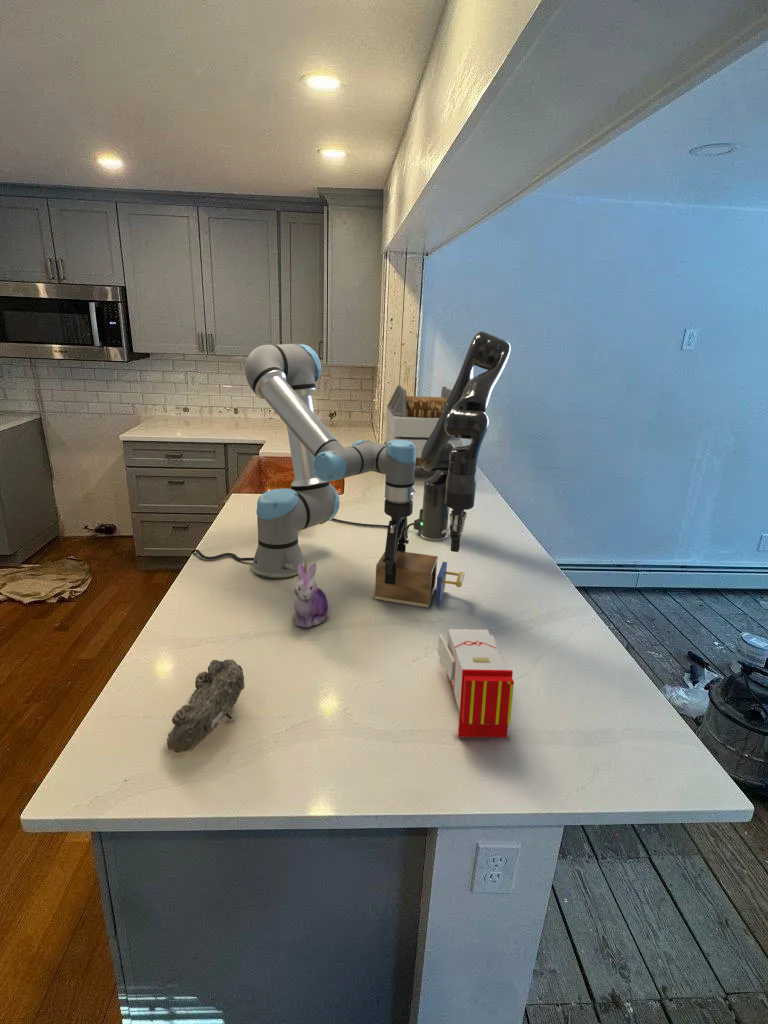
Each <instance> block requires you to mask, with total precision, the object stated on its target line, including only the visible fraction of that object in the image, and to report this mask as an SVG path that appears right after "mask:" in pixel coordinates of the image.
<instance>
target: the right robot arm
mask: <svg viewBox="0 0 768 1024" xmlns="http://www.w3.org/2000/svg"><path fill="white" fill-rule="evenodd" d="M510 354H511V344H510V342H508V341H507V340H505V339H502V338H500V337H498V336H495V335H493V334H490V333H488V332H486V331H481V330H480V331H478V332H477V333H475V334H474V336H473V338H472V340H471V343H470V344H469V347H468V349H467V352H466V354H465V357H464V359H463V362H462V365H461V368H460V370H459V372H458V376H457V378H456V379H455V380H456V381H455V382H454V385H453V386H452V388H451V393H450V395H449V397H448V399H447V401H446V403H445V405H444V408H443V410H442V413H441V415H440V418H439V420H438V422H437V424H436V426H435V428H434V430H433V432H432V433H431V435H430V437H429V438H428V440H427V442H426V443H425V445H424V447H423V449H422V452H421V458H420V461H421V466H420V467H422V469H423V470H424V471H427V472H434V474H433V475H431V476H429V477H428V478H427V479H425V480H424V482H423V493H422V496H423V497H422V506H421V508H420V509H419V516H418V518H416V519H415V520H413V522H411V523H409V524H407V531H409V529H410V527H411V526H413V530H416V531H417V535H418V536H420V538H421V539H424V540H426V541H432V542H440V541H444V540H446V539H447V538H448V532H449V538H450V540H451V541H450V551H451V552H453V553H459V552H460V548H461V538H462V536H463V534H462V533H463V532H464V528H465V523H466V519H467V514H468V513H467V512H468V511H467V510H471V509H473V508H474V506H475V499H476V488H477V468H478V460H479V459H478V458H479V455H480V451H481V447H482V444H483V441H484V439H485V437H486V434H487V432H488V429H489V425H490V421H489V417H488V415H487V413H486V411H487V408H488V405H489V401H490V399H491V395H492V392H493V390H494V389H495V387H496V385H497V382H498V381H499V379H500V377H501V375H502V373H503V370H504V369H505V367H506V365H507V362H508V359H509V357H510ZM474 367H477V368H480V369H483V370H485V371H484V372H482V373H480V374H477V375H475V376H474ZM453 437H454V438H460V439H462V440H463V439H464V440H471V441H470V443H469V444H468V445H462V447H455V448H454V446H453V445H452V444H451V443H447V442H448V441H449V440H451V439H452V438H453ZM450 509H451V511H450ZM330 521H335V522H339V523H342V524H349V525H354V526H361V527H362V526H364V527H376V528H387V526H388V524H372V523H361V522H353V521H347V520H342V519H338V518H335V517H334V518H333V519H331V520H330ZM448 525H449V528H448Z"/></svg>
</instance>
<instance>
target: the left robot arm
mask: <svg viewBox="0 0 768 1024" xmlns="http://www.w3.org/2000/svg"><path fill="white" fill-rule="evenodd" d="M321 363H322V362H321V360H320V356H318V353H317V352H316V351H315V350H314V349H312V347H311V346H309V345H307V344H302V343H284V344H283V343H282V344H262V345H259V346H257V347H256V348H254V349H253V350H252V351H250V353H249V354H248V356H247V359H246V361H245V364H244V366H245V367H244V374H245V378H246V381H247V384H248V385H249V387H250V389H251V391H252V392H253V393H254V394H255V396H256V397H257V398H259V399H261V400H264V401H266V402H267V404H268V405H269V406H270V408H272V410H273V411H274V412H275V413H276V414H277V416H278V417H279V418H280V420H282V422H283V423H284V424H285V425H286V429H287V437H288V442H289V443H288V444H289V449H290V455H291V463H292V468H293V476H294V479H293V481H292V482H291V484H290V488H285V487H284V488H283V487H282V488H273V489H270V490H267V491H265V492H263V493H262V494H261V495H260V496H259V497H258V498H257V501H256V511H255V513H256V519H257V521H256V523H257V548H256V550H255V554H254V556H253V557H239V556H237V554H236V553H232V552H224V553H220V554H216V555H214V556H206V555H205V554H203V553H202V552H201V550H199V549H197V548H195V549H193V550H191V552H190V554H195V553H196V554H197V555H198V556H199V557H201V559H203V560H208V561H213V560H217V559H220V558H224V557H232V558H234V559H235V560H236V561H239V562H252V571H253V573H254V574H255V575H257V576H260V577H262V578H266V579H274V580H275V579H276V580H279V579H287V578H293V577H294V576H298V566H299V564H303V566H304V567H305V558H304V556H303V553H302V550H301V547H300V544H299V532H300V531H302V530H306V529H309V528H311V527H315V526H318V525H323V524H325V523H327V522H330V521H332V520H331V519H333V518H334V519H335V517H336V515H337V514H338V513H339V509H340V502H341V501H340V496H339V492H338V490H336V488H335V486H333V485H332V484H330V482H334V481H341V480H343V479H346V478H349V477H353V476H357V475H362V474H365V473H369V472H374V473H379V474H382V475H385V484H384V498H385V499H384V504H383V505H384V508H383V511H384V514H385V515H386V516H389V517H390V518H391V519H390V520H389V521H388V524H387V527H386V528H387V529H386V530H387V532H386V540H385V548H384V552H385V556H384V559H383V562H384V563H386V566H385V583H386V584H392V585H395V577H396V554H397V551H403V552H406V548H407V545H409V543H410V539H408V538H409V536H408V535H409V533H408V531H409V530H407V526H408V517H410V516H412V515H413V510H414V508H413V507H414V501H413V499H414V493H416V491H417V490H416V488H414V487H415V472H416V466H415V464H416V446H415V444H414V443H413V442H411V441H407V440H392V441H389V442H388V444H387V446H386V445H384V444H382V443H378V442H374V441H372V440H369V439H368V440H365V439H359V440H358V439H357V440H356V441H355V442H354V443H352V444H351V446H346V447H344V446H343V444H341V443H340V441H339V440H338V439H337V438H336V437H335V435H333V434H332V432H331V431H330V430H329V429H328V428H327V426H326V425H325V424H324V423H323V422H322V421H321V419H319V417H318V416H317V415H316V414H315V410H314V403H313V394H314V392H316V390H317V388H316V383H317V382H318V381H319V380H320V378H321V375H322V364H321ZM195 551H196V552H195ZM194 552H195V553H194Z"/></svg>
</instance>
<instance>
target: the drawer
mask: <svg viewBox="0 0 768 1024" xmlns="http://www.w3.org/2000/svg"><path fill="white" fill-rule="evenodd" d="M436 565H437V566H438V562H437V563H436ZM436 565H435V567H434V570H433V573H432V575H431V587H430V598H431V595H432V593H433V590H434V587H435V590H434V591H435V599H434V604H435V605H440V603H441V600H442V598H443V595H444V592H445V588H446V584H449V585H455V586H456V587H457V588H461V587H462V585H463V581H464V577H465V572H463V571H459V572H455V571H447V570H448V569H447V568H448V562H447V561H442V563H441V565H440V568H439V571H438V573H437V572H436ZM447 575H449V576H450V575H451V576H457V577H456V581H453V580H447ZM435 577H436V584H435ZM433 594H434V593H433Z"/></svg>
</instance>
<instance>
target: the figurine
mask: <svg viewBox="0 0 768 1024" xmlns="http://www.w3.org/2000/svg"><path fill="white" fill-rule="evenodd" d="M316 573H317V563H316V562H313V563H311V565H310V566H309V567H308V569H307V570H306V567H305V565H304V566H303V564H299V566H298V574H297V578H298V579H297V581H296V583H295V586H294V589H293V590H294V594H295V596H296V598H295V601H294V612H295V615H294V619H295V626H297V627H302V628H311V627H312V626H313V627H314V626H318V625H320V624H322V623H323V622H324V621H325V620H326V619H327V616H328V610H329V604H328V598H327V595H326V594H325V592H324V591H323V590H322V589H321V588H319V587H318V586H317V583H316V581H315V575H316Z"/></svg>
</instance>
